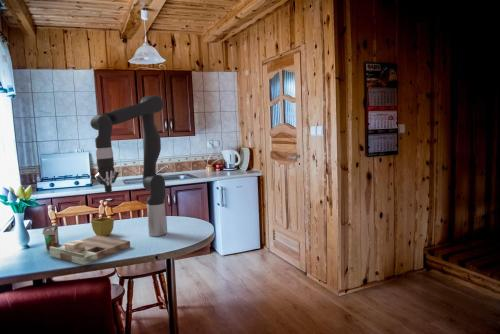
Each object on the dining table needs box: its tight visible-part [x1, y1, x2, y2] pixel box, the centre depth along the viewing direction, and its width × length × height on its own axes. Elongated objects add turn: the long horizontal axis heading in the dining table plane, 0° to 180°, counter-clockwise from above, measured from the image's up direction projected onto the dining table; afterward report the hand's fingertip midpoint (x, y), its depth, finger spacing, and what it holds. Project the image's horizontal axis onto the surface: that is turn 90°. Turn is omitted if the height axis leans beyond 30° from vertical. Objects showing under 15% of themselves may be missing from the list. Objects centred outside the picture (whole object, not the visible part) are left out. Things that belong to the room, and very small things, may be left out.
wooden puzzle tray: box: [49, 234, 131, 266], centre depth 177 cm, size 26×25×4 cm
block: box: [64, 239, 85, 252], centre depth 169 cm, size 6×6×4 cm
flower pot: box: [90, 216, 115, 237], centre depth 204 cm, size 9×9×9 cm
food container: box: [41, 224, 60, 251], centre depth 185 cm, size 12×6×10 cm, turn 21°
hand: (108, 192), depth 178 cm, fingers closed
